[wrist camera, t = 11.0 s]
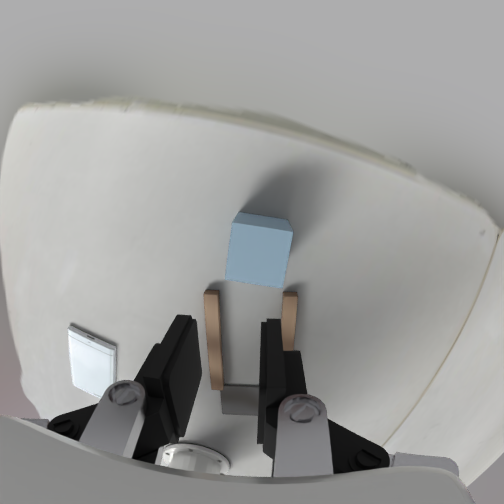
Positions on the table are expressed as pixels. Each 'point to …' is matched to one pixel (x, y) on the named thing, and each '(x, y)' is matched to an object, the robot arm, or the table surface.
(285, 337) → the guide channel
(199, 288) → the table surface
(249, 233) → the block
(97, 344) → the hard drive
